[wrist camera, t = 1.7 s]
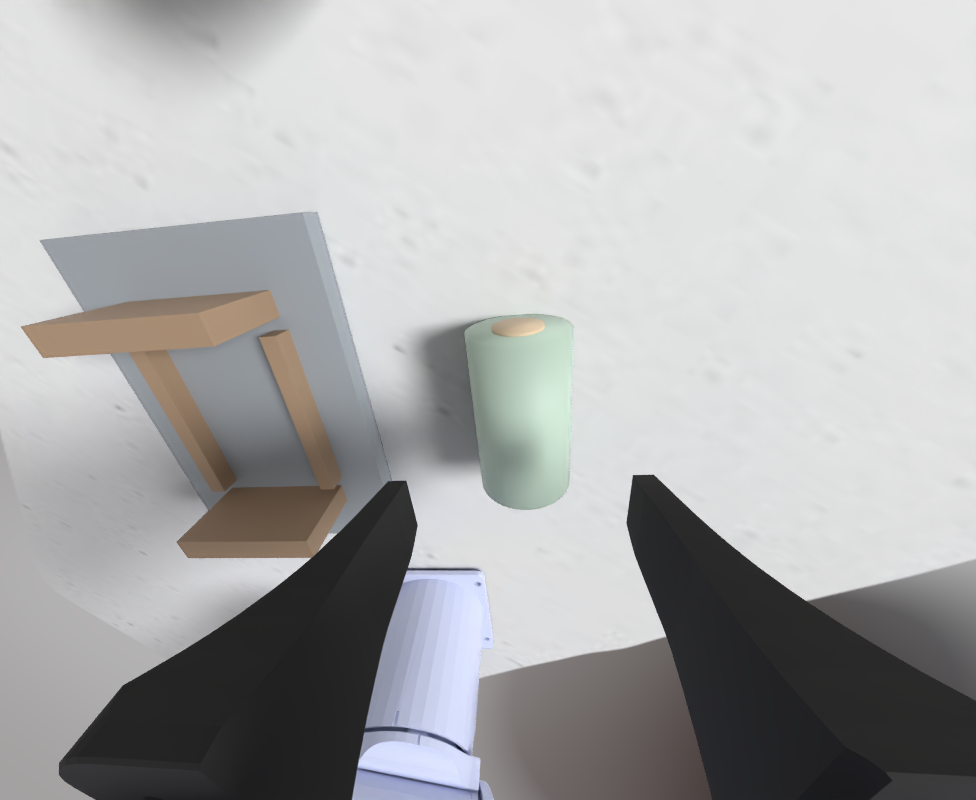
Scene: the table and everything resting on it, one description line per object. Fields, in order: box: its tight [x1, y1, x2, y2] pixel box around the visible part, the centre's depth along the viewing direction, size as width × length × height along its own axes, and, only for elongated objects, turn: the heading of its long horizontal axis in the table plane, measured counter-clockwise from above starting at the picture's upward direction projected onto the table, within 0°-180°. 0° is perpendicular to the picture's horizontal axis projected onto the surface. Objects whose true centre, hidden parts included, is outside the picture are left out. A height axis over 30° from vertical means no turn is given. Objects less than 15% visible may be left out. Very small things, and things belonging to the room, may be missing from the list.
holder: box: [21, 212, 392, 558], centre depth 17 cm, size 18×12×5 cm, turn 5°
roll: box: [464, 314, 574, 510], centre depth 16 cm, size 8×4×4 cm, turn 5°
